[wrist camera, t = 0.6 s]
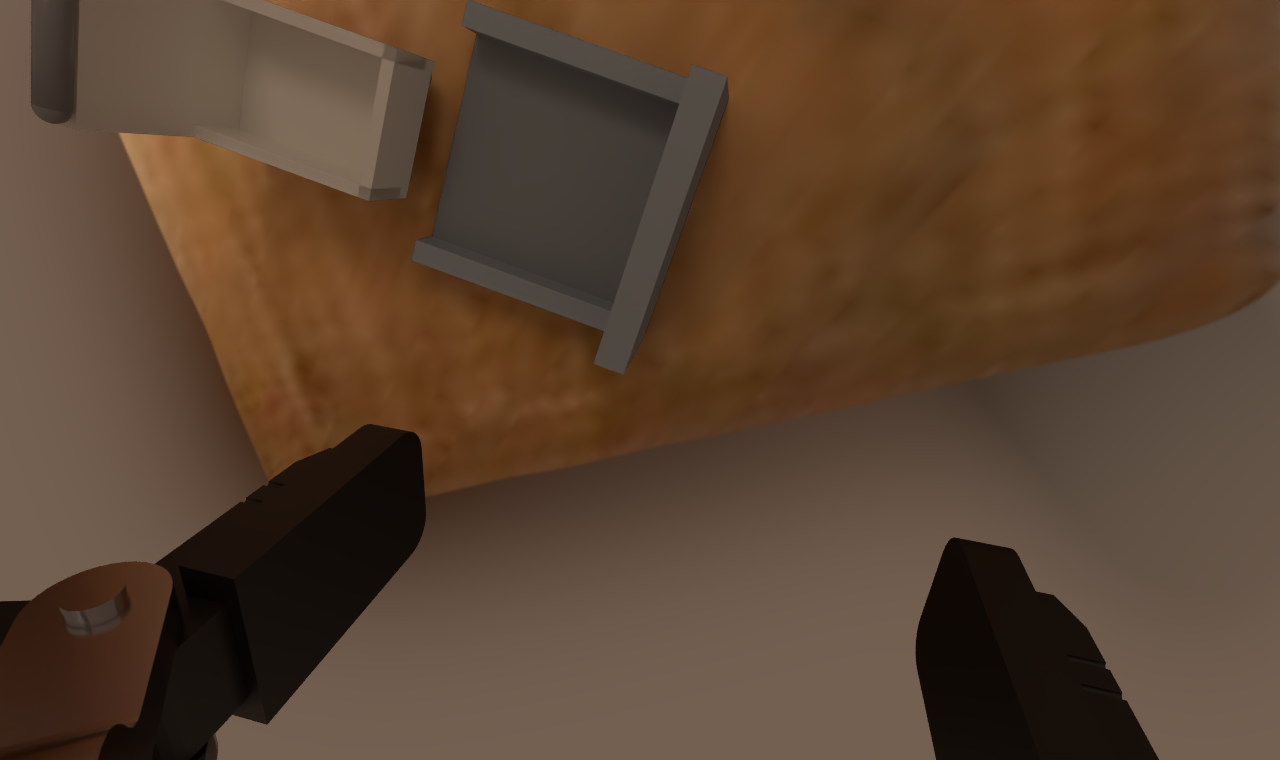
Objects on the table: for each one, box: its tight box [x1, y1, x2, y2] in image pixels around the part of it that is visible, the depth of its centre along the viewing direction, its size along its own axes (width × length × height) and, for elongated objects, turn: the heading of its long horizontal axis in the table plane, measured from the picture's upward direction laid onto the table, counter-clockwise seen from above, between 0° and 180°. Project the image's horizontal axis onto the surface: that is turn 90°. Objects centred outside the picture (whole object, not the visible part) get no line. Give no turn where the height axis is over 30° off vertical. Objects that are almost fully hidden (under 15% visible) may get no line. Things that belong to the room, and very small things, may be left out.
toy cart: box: [31, 0, 434, 201], centre depth 29 cm, size 7×10×13 cm
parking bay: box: [412, 0, 729, 375], centre depth 32 cm, size 13×14×8 cm
